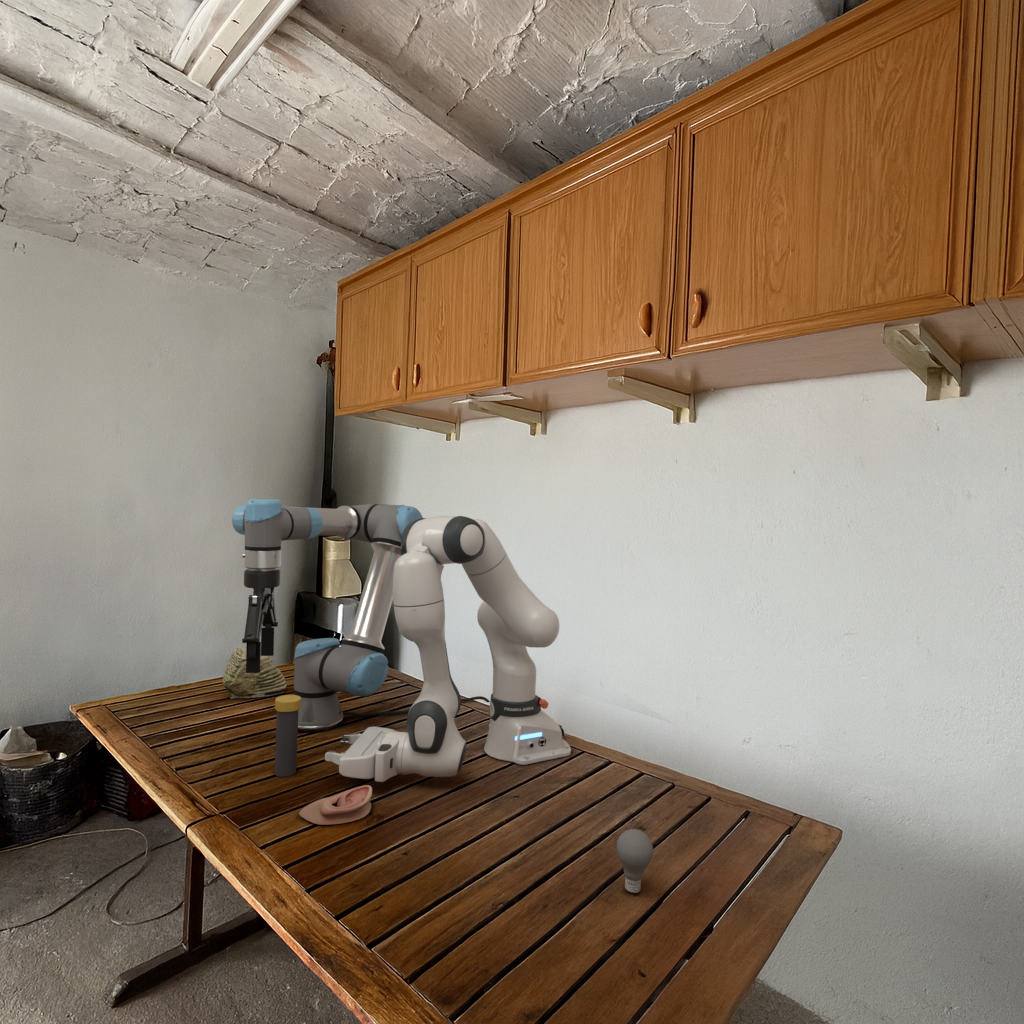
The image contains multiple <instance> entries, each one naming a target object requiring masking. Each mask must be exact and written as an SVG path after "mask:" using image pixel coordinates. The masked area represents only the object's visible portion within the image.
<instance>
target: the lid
mask: <svg viewBox="0 0 1024 1024" xmlns="http://www.w3.org/2000/svg"><path fill="white" fill-rule="evenodd" d="M300 707H301V697H300V696H297V695H294V694H285V695H279V696H277V697H276V698H275V700H274V710H275V711H276V712H277V711H279V712H292V711H296V710H298V709H300Z"/></svg>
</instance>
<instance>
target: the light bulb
mask: <svg viewBox="0 0 1024 1024" xmlns="http://www.w3.org/2000/svg"><path fill="white" fill-rule="evenodd" d="M615 849H616V854H617V857H618V859H619V861H620V863H621V865H622V867H623V873H624V874H623V875H624V876H625V878H624V888H625V890H627V891H628V892H630V893H634V894H635V893H639V892H640V891H641V889H642V887H641V886H642V879H643V877H644V875H645V871H646V868H647V867H648V866H649V864H650V863H651V861H652V859H653V855H654V847H653V843H652V841H651V838H649V836H648V835H647V834H646V833H645V832H643V831H642V830H641V829H636V828H629V829H627V830H625V831H623V832H622V833H621V834H620V835H619V837H618V839H617V841H616V847H615Z"/></svg>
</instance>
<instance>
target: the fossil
mask: <svg viewBox="0 0 1024 1024" xmlns="http://www.w3.org/2000/svg"><path fill="white" fill-rule="evenodd" d="M222 676H223V677H222V685H223V687H224V688H225V690H226V691H228V693H229V698H230V699H250V698H264V697H271V696H275V695H281V694H284V693H285V691H286V689H287V687H288V686H287V680H286V678H285V676H284V674H283V673H282V672H281V669H279V668H278V667H277V665H276V663H275V662H274V660H273V659H272V658H271V657H270V656H261V657H260V673H246V647H245V646H238V647H237V648H236V649H235V650H233V651H232V653H231V656H230V657H229V659H228V660H227V663H226V666H225V668H224V671H223V675H222Z"/></svg>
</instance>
